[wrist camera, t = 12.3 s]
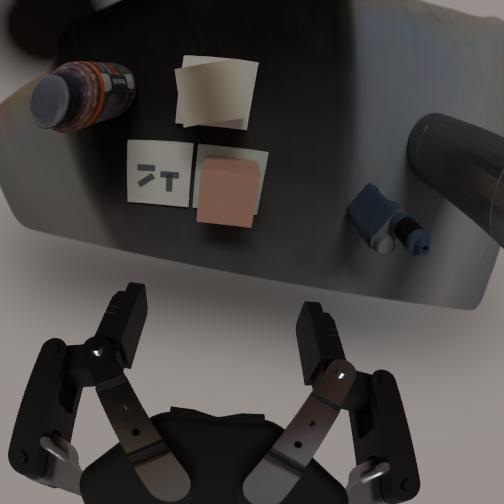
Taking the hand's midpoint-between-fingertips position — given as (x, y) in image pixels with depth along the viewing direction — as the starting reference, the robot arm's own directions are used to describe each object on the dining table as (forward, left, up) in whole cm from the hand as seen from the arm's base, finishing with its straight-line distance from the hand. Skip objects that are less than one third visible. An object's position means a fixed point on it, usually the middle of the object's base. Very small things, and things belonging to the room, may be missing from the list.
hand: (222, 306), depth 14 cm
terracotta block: (0, 0, -18) cm, 18 cm away
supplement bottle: (+14, -9, -18) cm, 24 cm away
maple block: (+3, -9, -18) cm, 20 cm away
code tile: (+8, 0, -18) cm, 20 cm away
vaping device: (-15, 0, -18) cm, 24 cm away
